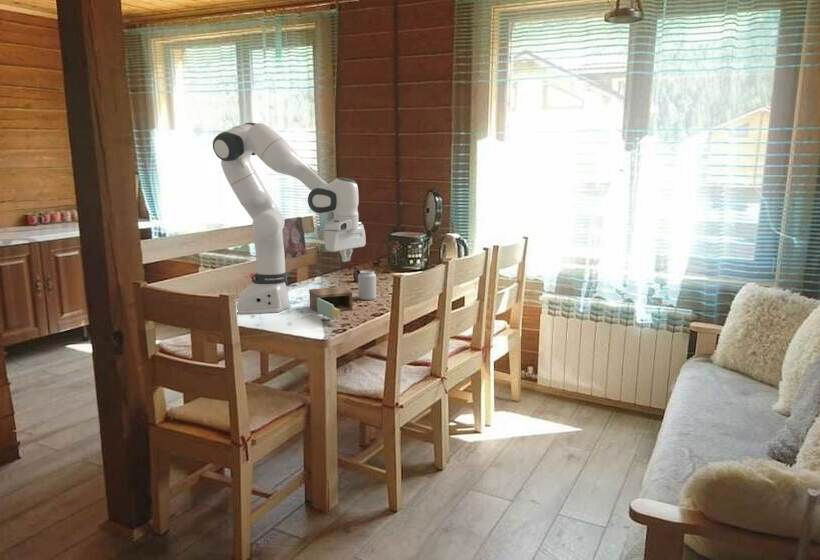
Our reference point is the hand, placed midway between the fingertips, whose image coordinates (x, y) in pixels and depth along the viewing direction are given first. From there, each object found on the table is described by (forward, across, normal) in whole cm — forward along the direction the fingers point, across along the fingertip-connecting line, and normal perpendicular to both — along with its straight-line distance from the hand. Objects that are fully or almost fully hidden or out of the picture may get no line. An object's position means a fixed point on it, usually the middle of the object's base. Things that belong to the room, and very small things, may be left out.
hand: (346, 261), depth 229 cm
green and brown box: (+22, -10, -15) cm, 28 cm away
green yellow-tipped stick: (+22, 0, -13) cm, 26 cm away
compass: (+22, -57, -33) cm, 70 cm away
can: (+22, -31, -12) cm, 40 cm away
